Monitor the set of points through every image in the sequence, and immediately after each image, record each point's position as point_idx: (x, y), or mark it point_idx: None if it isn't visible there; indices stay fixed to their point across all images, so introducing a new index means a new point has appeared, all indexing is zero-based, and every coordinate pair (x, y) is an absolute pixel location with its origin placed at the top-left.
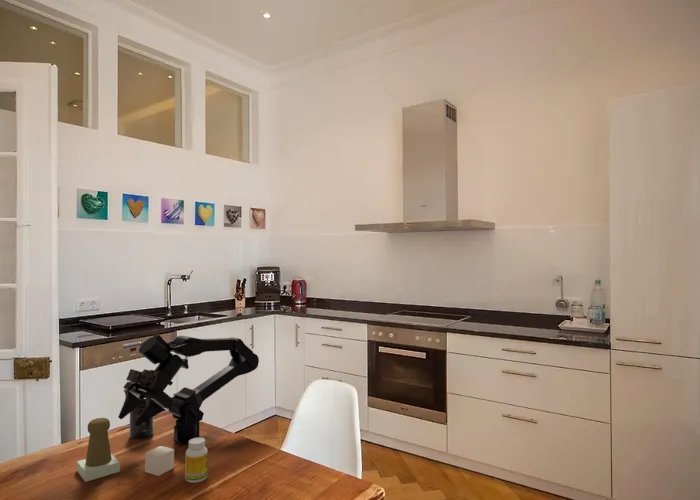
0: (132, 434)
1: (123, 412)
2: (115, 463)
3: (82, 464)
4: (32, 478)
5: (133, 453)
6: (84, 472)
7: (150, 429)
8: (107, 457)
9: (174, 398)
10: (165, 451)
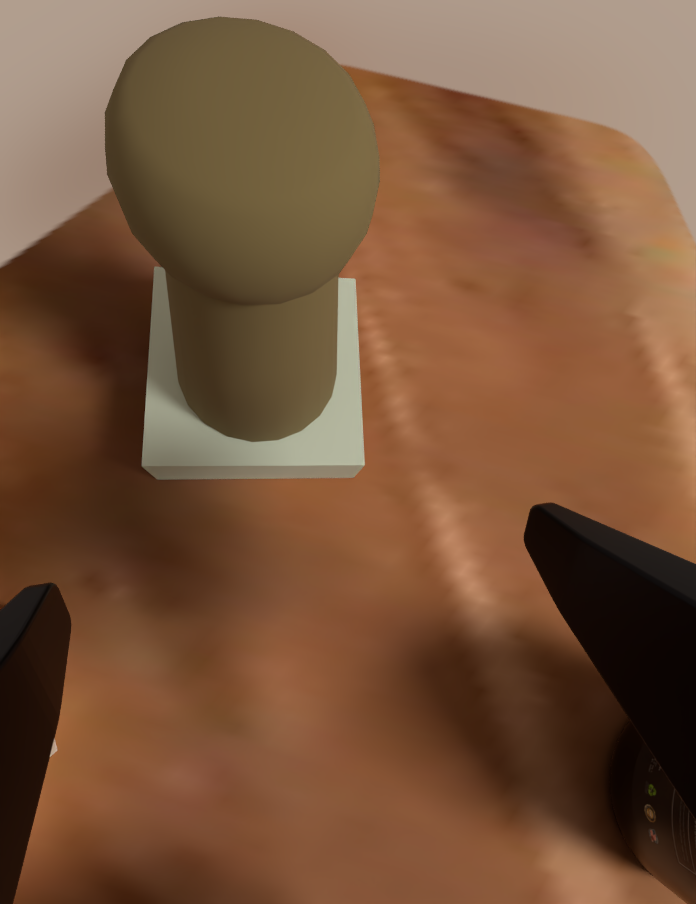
0: None
1: (585, 568)
2: (144, 438)
3: None
4: (398, 157)
5: (385, 637)
6: None
7: (666, 876)
8: (184, 385)
9: None
10: None
